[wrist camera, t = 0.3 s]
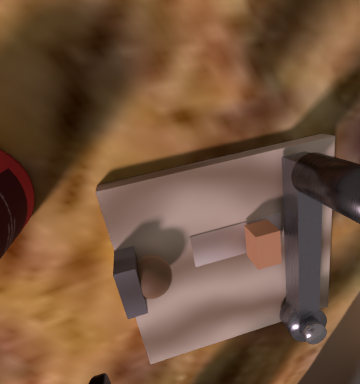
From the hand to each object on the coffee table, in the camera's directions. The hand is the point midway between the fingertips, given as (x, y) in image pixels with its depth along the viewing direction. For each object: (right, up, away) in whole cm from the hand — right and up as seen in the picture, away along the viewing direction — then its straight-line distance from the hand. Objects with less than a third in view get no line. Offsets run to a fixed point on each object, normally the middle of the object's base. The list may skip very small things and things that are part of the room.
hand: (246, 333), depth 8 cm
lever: (+8, 0, +15) cm, 17 cm away
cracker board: (+2, -1, +16) cm, 16 cm away
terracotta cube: (+4, +1, +14) cm, 14 cm away
